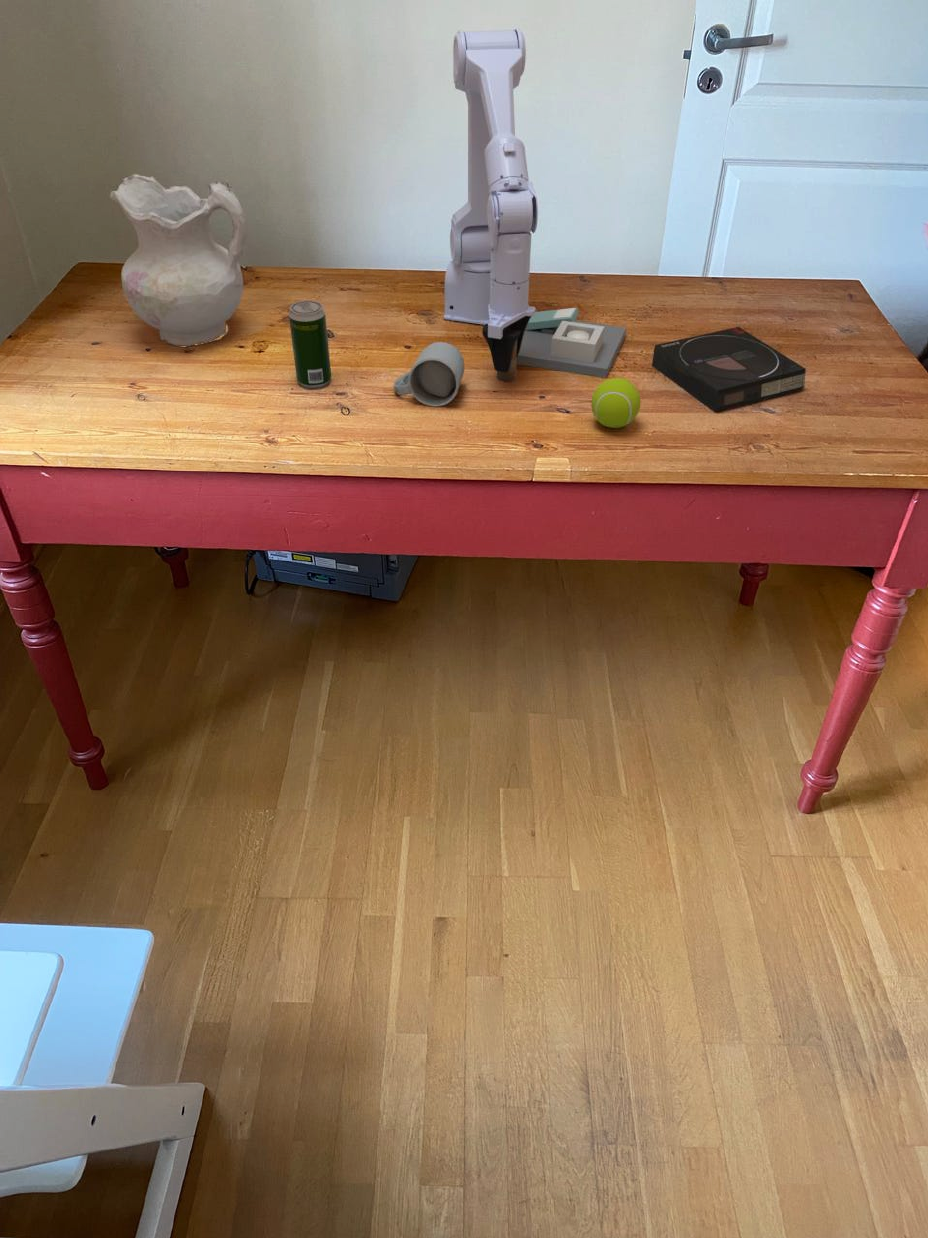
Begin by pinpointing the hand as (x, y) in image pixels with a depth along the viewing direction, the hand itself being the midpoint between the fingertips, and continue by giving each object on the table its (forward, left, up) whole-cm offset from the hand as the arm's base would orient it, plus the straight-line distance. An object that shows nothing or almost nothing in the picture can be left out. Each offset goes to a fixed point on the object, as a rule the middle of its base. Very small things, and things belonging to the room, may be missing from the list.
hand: (506, 363), depth 146 cm
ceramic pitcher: (-54, -1, -3) cm, 54 cm away
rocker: (+3, +16, +1) cm, 17 cm away
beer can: (-28, -11, -3) cm, 30 cm away
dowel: (0, 0, -2) cm, 2 cm away
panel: (+6, +13, -2) cm, 15 cm away
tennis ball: (+19, -9, -3) cm, 21 cm away
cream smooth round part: (+9, +10, 0) cm, 13 cm away
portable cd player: (+33, +11, -3) cm, 35 cm away
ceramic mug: (-10, -9, -3) cm, 14 cm away
